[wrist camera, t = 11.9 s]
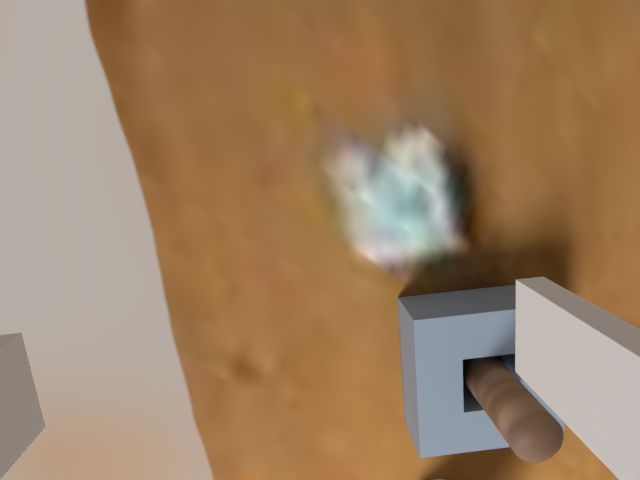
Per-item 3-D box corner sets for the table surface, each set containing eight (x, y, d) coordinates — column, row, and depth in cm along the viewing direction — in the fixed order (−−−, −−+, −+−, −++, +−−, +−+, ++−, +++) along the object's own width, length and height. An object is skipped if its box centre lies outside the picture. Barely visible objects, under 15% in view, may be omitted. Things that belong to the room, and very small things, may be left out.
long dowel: (447, 337, 47) (511, 418, 34) (485, 333, 47) (564, 412, 34) (448, 372, 48) (511, 465, 35) (485, 368, 48) (562, 459, 35)
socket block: (397, 297, 46) (413, 320, 40) (533, 282, 47) (568, 303, 41) (404, 419, 49) (420, 458, 43) (531, 404, 50) (563, 440, 44)
